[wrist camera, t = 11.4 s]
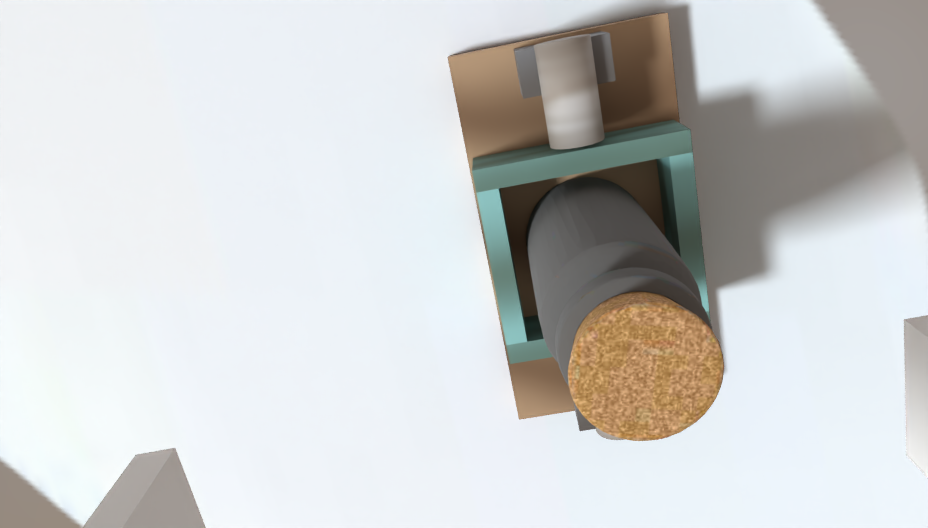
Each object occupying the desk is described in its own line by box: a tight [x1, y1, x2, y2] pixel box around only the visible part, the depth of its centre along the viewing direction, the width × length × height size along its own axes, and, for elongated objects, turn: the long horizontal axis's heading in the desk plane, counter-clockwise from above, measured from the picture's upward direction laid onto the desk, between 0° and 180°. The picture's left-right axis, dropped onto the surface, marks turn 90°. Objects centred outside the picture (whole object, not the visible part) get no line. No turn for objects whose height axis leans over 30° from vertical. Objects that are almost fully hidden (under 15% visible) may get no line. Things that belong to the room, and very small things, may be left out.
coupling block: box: [448, 13, 710, 440], centre depth 36 cm, size 19×10×5 cm, turn 11°
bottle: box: [526, 177, 724, 441], centre depth 30 cm, size 6×6×15 cm
